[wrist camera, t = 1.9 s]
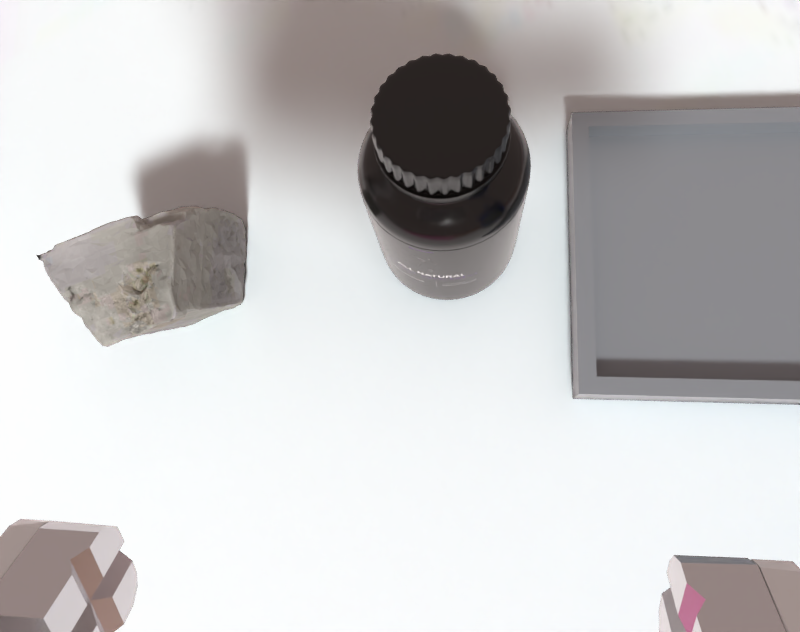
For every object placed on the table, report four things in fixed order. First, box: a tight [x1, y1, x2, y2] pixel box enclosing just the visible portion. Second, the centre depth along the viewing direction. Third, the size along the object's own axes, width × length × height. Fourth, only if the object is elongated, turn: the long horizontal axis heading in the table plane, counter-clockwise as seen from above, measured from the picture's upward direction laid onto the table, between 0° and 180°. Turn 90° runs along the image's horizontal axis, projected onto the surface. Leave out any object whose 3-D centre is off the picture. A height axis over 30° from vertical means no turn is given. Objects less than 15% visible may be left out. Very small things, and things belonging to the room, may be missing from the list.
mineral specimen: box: [37, 206, 247, 347], centre depth 30 cm, size 7×9×8 cm
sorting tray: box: [567, 107, 800, 405], centre depth 31 cm, size 14×14×2 cm
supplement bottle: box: [358, 54, 531, 300], centre depth 27 cm, size 7×7×12 cm
